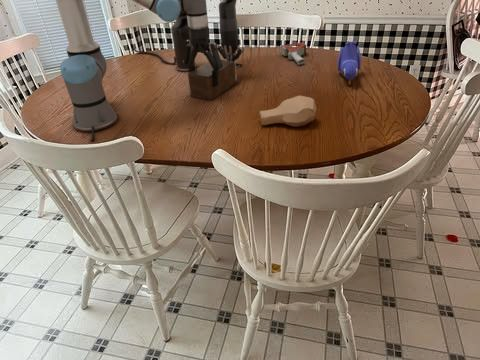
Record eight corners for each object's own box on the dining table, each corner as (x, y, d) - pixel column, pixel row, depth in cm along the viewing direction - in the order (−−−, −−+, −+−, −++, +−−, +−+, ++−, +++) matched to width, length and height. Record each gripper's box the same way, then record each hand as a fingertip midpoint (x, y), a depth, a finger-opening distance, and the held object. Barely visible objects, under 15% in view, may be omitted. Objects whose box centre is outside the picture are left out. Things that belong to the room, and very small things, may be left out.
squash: (320, 127, 121) (320, 106, 115) (262, 137, 123) (259, 116, 116) (314, 109, 129) (313, 87, 122) (259, 119, 130) (256, 98, 124)
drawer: (226, 72, 167) (225, 55, 162) (243, 75, 163) (242, 58, 159) (196, 91, 150) (194, 73, 146) (214, 94, 146) (212, 76, 142)
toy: (336, 78, 167) (337, 88, 145) (337, 40, 160) (339, 44, 138) (358, 77, 165) (363, 87, 142) (360, 39, 158) (366, 42, 136)
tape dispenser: (301, 69, 172) (317, 54, 185) (301, 58, 169) (318, 44, 181) (269, 62, 180) (286, 49, 192) (269, 52, 176) (287, 39, 189)
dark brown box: (216, 80, 162) (214, 58, 157) (235, 83, 158) (234, 61, 152) (190, 96, 149) (187, 73, 143) (211, 100, 144) (208, 76, 139)
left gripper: (229, 26, 131) (233, 84, 144) (180, 22, 141) (188, 77, 154) (218, 31, 126) (223, 91, 139) (168, 26, 136) (177, 83, 149)
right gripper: (246, 27, 151) (248, 67, 161) (220, 25, 156) (223, 64, 166) (237, 31, 145) (240, 73, 156) (211, 29, 151) (215, 69, 161)
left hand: (204, 83), depth 146 cm, fingers closed on dark brown box, 10 cm apart
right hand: (231, 68), depth 161 cm, fingers closed
